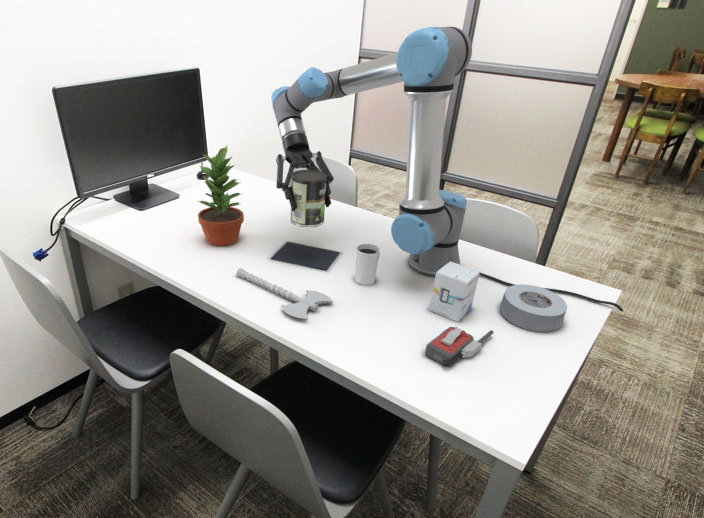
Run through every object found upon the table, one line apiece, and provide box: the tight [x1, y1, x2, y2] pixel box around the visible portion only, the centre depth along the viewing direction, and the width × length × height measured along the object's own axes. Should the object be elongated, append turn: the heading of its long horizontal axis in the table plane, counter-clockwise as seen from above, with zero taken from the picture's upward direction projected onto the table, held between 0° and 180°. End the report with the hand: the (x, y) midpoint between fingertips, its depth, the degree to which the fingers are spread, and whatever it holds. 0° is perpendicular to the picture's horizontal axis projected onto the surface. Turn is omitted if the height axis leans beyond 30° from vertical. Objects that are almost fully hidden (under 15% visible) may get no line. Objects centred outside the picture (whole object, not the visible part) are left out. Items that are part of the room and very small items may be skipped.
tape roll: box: [499, 284, 568, 333], centre depth 129 cm, size 15×15×5 cm
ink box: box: [428, 261, 481, 323], centre depth 129 cm, size 8×8×12 cm
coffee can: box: [290, 169, 327, 228], centre depth 145 cm, size 10×10×14 cm
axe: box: [235, 267, 334, 320], centre depth 135 cm, size 30×14×2 cm, turn 50°
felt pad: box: [270, 241, 341, 272], centre depth 155 cm, size 18×13×1 cm
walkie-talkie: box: [424, 326, 495, 367], centre depth 117 cm, size 9×4×20 cm
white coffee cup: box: [354, 243, 381, 286], centre depth 141 cm, size 7×7×10 cm
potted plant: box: [197, 145, 245, 247], centre depth 155 cm, size 15×15×30 cm
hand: (311, 207), depth 144 cm, fingers closed on coffee can, 10 cm apart
